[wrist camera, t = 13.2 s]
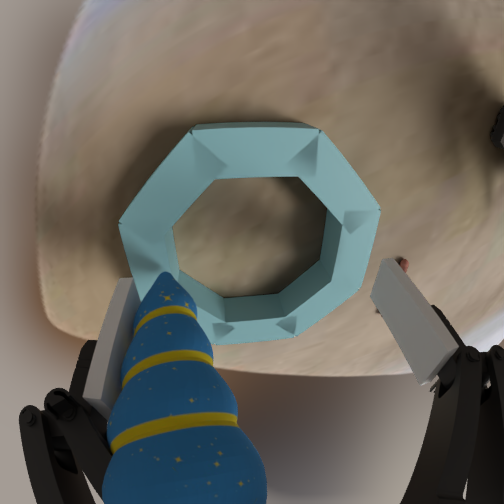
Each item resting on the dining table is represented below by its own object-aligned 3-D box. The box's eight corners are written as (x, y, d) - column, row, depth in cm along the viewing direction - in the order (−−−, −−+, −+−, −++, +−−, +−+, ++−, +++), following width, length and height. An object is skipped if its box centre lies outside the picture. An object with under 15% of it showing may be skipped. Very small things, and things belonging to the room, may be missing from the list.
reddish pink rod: (400, 257, 21) (404, 263, 20) (406, 257, 21) (411, 262, 20) (378, 314, 24) (381, 320, 24) (385, 313, 24) (388, 318, 24)
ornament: (116, 295, 15) (117, 567, 3) (132, 220, 13) (123, 601, 1) (195, 312, 17) (252, 559, 5) (224, 246, 15) (338, 559, 3)
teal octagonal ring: (118, 134, 13) (102, 143, 11) (371, 129, 15) (393, 137, 12) (161, 323, 21) (157, 347, 19) (336, 308, 23) (346, 329, 21)
